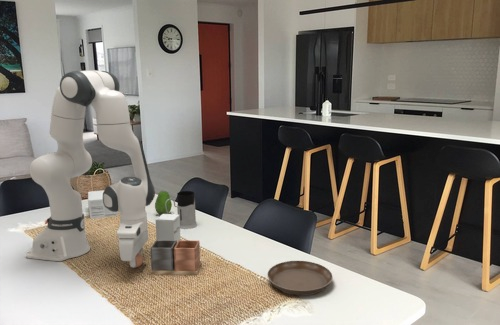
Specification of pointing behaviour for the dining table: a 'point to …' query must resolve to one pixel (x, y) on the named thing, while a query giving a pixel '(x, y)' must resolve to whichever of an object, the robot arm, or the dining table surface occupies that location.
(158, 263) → the stacked cubby shelf
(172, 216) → the supplement box
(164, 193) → the avocado
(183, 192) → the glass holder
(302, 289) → the plant saucer
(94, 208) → the supplement box
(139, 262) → the ball
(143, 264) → the ball stand
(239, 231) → the dining table surface
